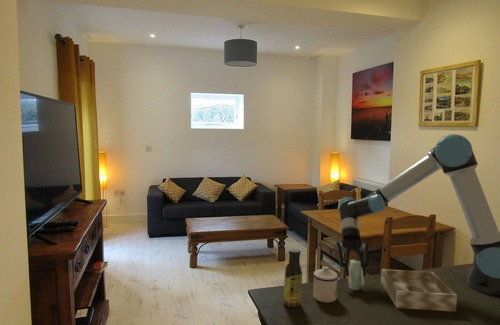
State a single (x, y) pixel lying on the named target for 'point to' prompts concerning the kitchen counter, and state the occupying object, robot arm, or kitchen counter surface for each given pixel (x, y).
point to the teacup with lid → (325, 285)
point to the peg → (355, 274)
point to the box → (418, 290)
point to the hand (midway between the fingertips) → (356, 284)
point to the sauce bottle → (293, 280)
